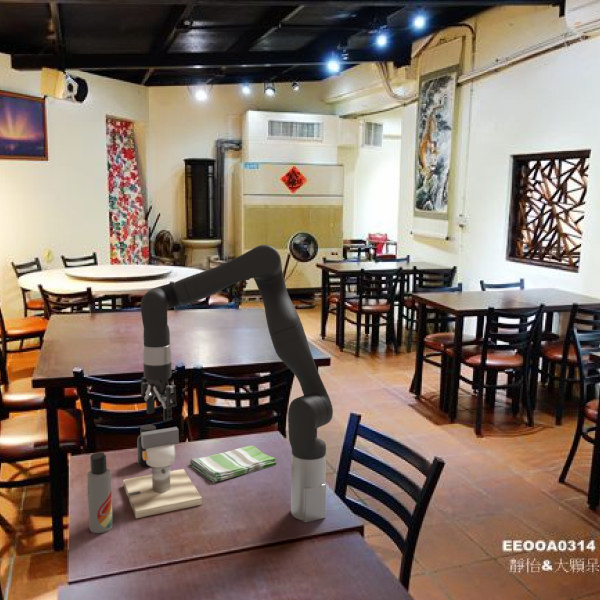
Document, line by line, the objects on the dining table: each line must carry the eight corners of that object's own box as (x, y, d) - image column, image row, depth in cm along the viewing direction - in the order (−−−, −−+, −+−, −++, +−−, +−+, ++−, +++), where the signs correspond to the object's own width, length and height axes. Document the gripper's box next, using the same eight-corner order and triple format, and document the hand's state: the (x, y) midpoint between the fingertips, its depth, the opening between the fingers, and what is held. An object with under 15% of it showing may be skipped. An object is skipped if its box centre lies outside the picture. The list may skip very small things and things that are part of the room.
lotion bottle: (116, 527, 152) (114, 454, 149) (96, 536, 148) (93, 461, 145) (105, 519, 156) (102, 447, 153) (85, 527, 152) (81, 454, 149)
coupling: (174, 452, 174) (173, 423, 173) (181, 463, 167) (181, 433, 165) (139, 458, 169) (139, 429, 168) (146, 470, 162) (145, 439, 161)
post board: (201, 504, 165) (201, 470, 163) (136, 518, 157) (134, 483, 155) (183, 474, 183) (183, 444, 181) (123, 485, 175) (122, 454, 173)
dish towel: (188, 465, 191) (188, 455, 190) (249, 448, 204) (249, 439, 204) (214, 485, 177) (214, 474, 177) (277, 466, 191) (277, 456, 190)
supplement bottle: (156, 467, 187) (155, 431, 185) (135, 467, 187) (134, 431, 185) (161, 458, 194) (161, 423, 192) (141, 458, 194) (140, 423, 192)
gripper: (183, 363, 161) (184, 420, 164) (155, 354, 171) (156, 407, 173) (159, 368, 156) (161, 426, 158) (131, 358, 166) (133, 413, 168)
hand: (158, 416), depth 166 cm, fingers open, 8 cm apart
